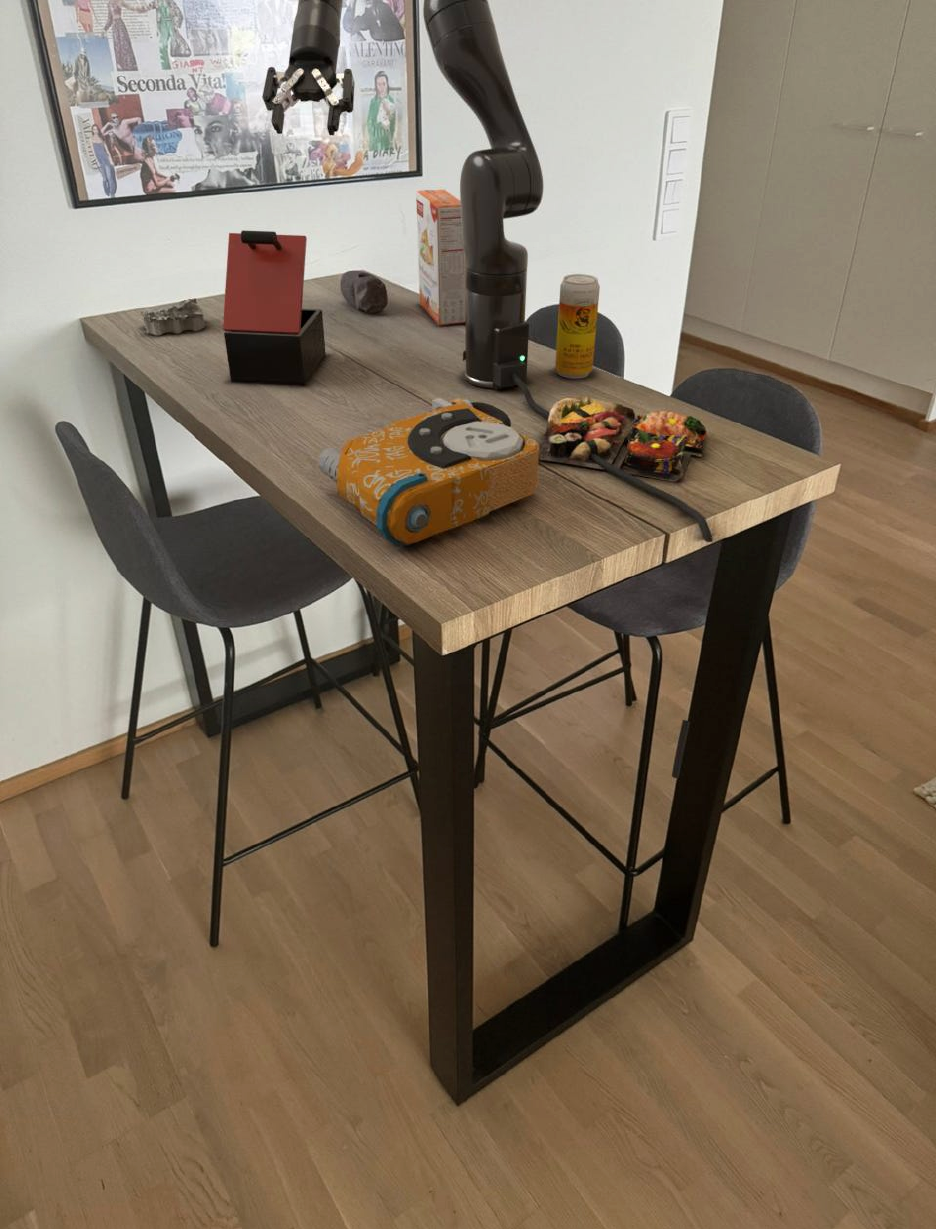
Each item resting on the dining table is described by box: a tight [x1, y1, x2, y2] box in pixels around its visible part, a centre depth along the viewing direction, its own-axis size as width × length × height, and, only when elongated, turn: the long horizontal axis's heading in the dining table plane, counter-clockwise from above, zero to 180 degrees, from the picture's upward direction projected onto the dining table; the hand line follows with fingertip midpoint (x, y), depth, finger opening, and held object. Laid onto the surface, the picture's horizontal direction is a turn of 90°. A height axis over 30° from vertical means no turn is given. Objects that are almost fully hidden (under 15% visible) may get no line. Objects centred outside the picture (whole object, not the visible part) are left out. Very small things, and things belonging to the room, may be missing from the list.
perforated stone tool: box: [339, 270, 389, 314], centre depth 173 cm, size 15×5×7 cm, turn 31°
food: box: [538, 395, 707, 483], centre depth 123 cm, size 22×19×4 cm
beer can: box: [554, 273, 601, 379], centre depth 142 cm, size 6×6×15 cm
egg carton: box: [140, 298, 206, 337], centre depth 163 cm, size 11×8×4 cm
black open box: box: [223, 308, 327, 386], centre depth 145 cm, size 14×12×8 cm
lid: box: [222, 229, 308, 334], centre depth 135 cm, size 15×12×5 cm
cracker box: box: [415, 189, 466, 327], centre depth 166 cm, size 14×6×21 cm, turn 17°
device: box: [317, 397, 540, 547], centre depth 111 cm, size 23×8×30 cm
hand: (304, 131), depth 142 cm, fingers open, 8 cm apart
